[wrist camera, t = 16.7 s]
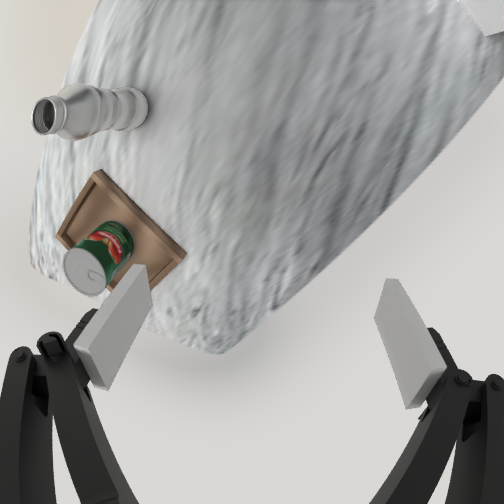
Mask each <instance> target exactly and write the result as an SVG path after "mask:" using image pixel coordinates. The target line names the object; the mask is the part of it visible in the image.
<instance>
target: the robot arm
mask: <svg viewBox="0 0 504 504" xmlns="http://www.w3.org/2000/svg"><path fill="white" fill-rule="evenodd" d="M152 306H153V303H152V298H151V293H150V287H149V282H148V276H147V270H146V265H141V264H133V265H132V266H131V268H130V269H129V270H128V271H127V273H126V274H125V275H124V276H123V278H122V279H121V280H120V282H119V283H118V284H117V285H116V287H115V288H114V289H113V291H112V292H111V293H110V295H109V296H108V297H107V299H106V300H105V301H104V302H103V304H102V305H101V307H100V308H99V309H94V308H93V309H91V310H90V311H89V312H87V313H86V314H85V315H84V316H83V317H82V319H81V320H80V322H79V323H78V324H77V325H76V328H74V330H73V331H72V332H71V334H70V335H69V336H68V338H67V339H66V341H64V339H63V337H62V335H61V334H60V333H58V332H48V333H46V334H44V335H42V336H41V337H40V338H39V340H38V341H37V348H38V349H39V351H40V353H41V355H33V353H32V352H31V350H30V349H29V348H28V347H24V346H22V347H19V348H17V349H15V350H14V351H13V352H12V353H11V355H10V358H9V362H8V365H7V369H6V374H5V378H4V382H3V387H2V392H1V397H0V504H57V503H56V495H55V485H54V472H53V451H52V419H53V416H54V420H55V425H56V429H57V433H58V436H59V440H60V444H61V447H62V451H63V454H64V457H65V460H66V464H67V467H68V470H69V473H70V475H71V478H72V481H73V484H74V487H75V489H76V492H77V494H78V497H79V499H80V502H81V504H139V503H138V501H137V499H136V498H135V496H134V494H133V492H132V490H131V488H130V487H129V485H128V483H127V481H126V479H125V477H124V475H123V473H122V471H121V469H120V467H119V464H118V463H117V460H116V458H115V456H114V454H113V451H112V449H111V447H110V444H109V442H108V440H107V437H106V435H105V432H104V430H103V427H102V425H101V422H100V419H99V417H98V414H97V411H96V408H95V405H94V403H93V399H92V397H91V393H90V390H89V388H88V386H87V384H88V382H89V381H90V380H91V382H92V383H93V385H94V387H96V388H99V389H102V390H106V391H109V389H110V387H111V385H112V383H113V381H114V378H115V377H116V374H117V372H118V370H119V368H120V366H121V364H122V362H123V360H124V359H125V357H126V354H127V353H128V350H129V349H130V347H131V345H132V343H133V341H134V339H135V337H136V335H137V333H138V332H139V330H140V328H141V326H142V324H143V322H144V320H145V319H146V317H147V315H148V313H149V311H150V309H151V308H152ZM374 319H375V322H376V325H377V327H378V330H379V332H380V335H381V338H382V340H383V343H384V346H385V349H386V351H387V354H388V357H389V360H390V362H391V365H392V368H393V371H394V373H395V377H396V380H397V382H398V386H399V389H400V392H401V395H402V398H403V401H404V404H405V408H406V409H411V408H417V407H420V406H421V405H422V404H423V402H424V401H425V399H426V401H427V404H428V406H427V408H426V409H425V410H424V412H423V413H422V414H421V416H420V417H419V418H418V419H419V420H420V421H419V423H418V425H417V427H416V429H415V431H414V433H413V435H412V437H411V439H410V440H409V442H408V444H407V446H406V448H405V449H404V451H403V453H402V455H401V456H400V458H399V460H398V461H397V463H396V465H395V466H394V468H393V470H392V471H391V473H390V474H389V476H388V478H387V479H386V481H385V482H384V483H383V485H382V486H381V488H380V489H379V491H378V492H377V494H376V495H375V496H374V498H373V499H372V501H371V502H370V503H369V504H427V503H428V501H429V499H430V498H431V496H432V494H433V492H434V490H435V488H436V486H437V484H438V482H439V480H440V478H441V476H442V473H443V471H444V469H445V466H446V464H447V462H448V460H449V457H450V455H451V452H452V450H453V447H454V445H455V442H456V439H457V442H456V450H455V456H454V463H453V469H452V474H451V479H450V484H449V489H448V493H447V497H446V502H445V504H504V380H503V378H501V377H500V376H499V375H496V374H491V375H489V376H488V377H487V378H486V380H485V381H477V380H473V379H472V377H471V376H470V375H469V373H467V372H466V371H464V370H461V369H458V368H457V366H456V364H455V362H454V360H453V358H452V356H451V354H450V352H449V350H448V349H447V347H446V345H445V343H443V340H442V338H441V336H440V334H439V333H438V332H437V331H436V330H435V329H433V328H426V326H425V324H424V322H423V320H422V319H421V317H420V315H419V313H418V312H417V310H416V308H415V307H414V305H413V303H412V301H411V300H410V298H409V296H408V295H407V293H406V291H405V290H404V288H403V286H402V285H401V283H400V282H399V280H398V279H386V280H385V284H384V287H383V291H382V294H381V297H380V301H379V304H378V307H377V310H376V313H375V316H374Z"/></svg>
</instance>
